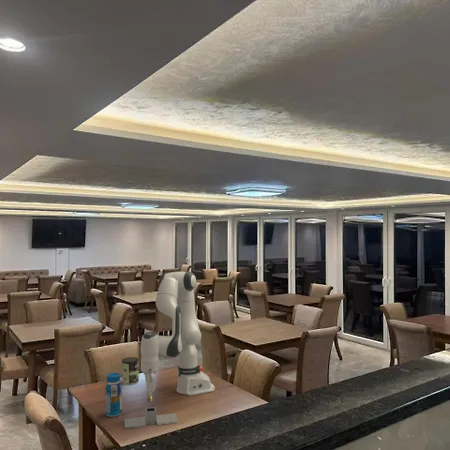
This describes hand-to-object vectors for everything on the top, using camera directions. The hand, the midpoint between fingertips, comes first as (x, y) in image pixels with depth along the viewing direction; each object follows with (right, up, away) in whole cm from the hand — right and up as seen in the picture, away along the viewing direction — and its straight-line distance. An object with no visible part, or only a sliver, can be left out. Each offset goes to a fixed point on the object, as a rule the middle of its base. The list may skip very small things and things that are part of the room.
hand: (150, 394), depth 206 cm
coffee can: (-22, -15, +57) cm, 63 cm away
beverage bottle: (-21, -14, +10) cm, 27 cm away
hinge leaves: (0, -13, 0) cm, 13 cm away
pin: (0, -3, 0) cm, 3 cm away
